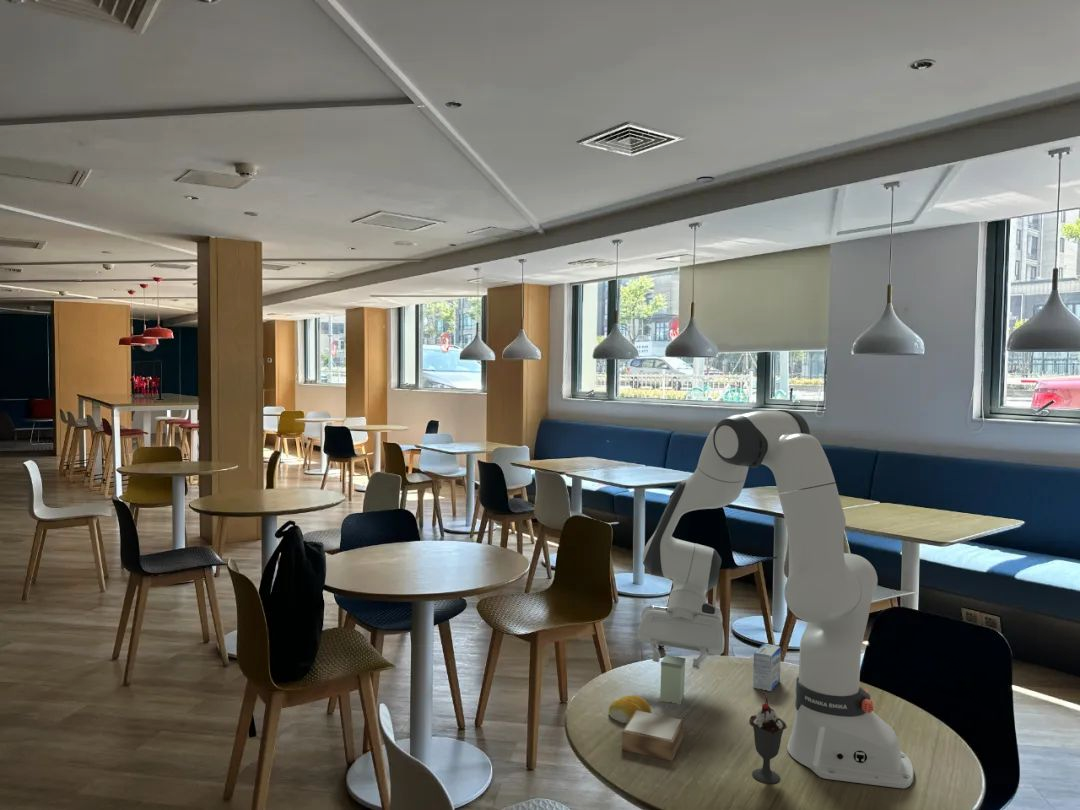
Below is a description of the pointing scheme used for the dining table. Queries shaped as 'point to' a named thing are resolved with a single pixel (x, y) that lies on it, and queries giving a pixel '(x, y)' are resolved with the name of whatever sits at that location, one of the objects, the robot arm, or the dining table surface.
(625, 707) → the bread roll
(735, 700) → the dining table surface
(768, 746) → the sundae
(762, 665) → the medicine box
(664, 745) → the wooden square block
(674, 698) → the green pillar block
